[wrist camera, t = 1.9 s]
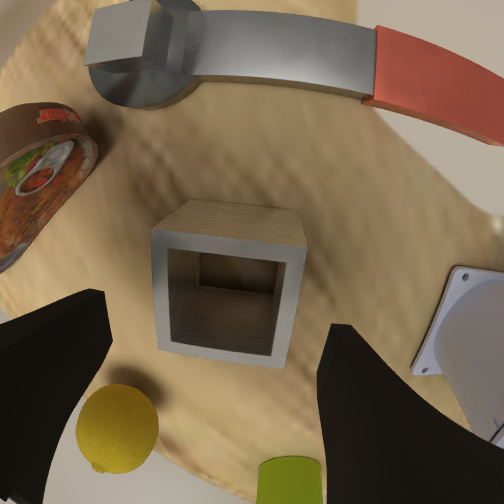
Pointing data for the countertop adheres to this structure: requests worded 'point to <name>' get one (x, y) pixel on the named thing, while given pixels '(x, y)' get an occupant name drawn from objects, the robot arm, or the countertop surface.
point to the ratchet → (286, 62)
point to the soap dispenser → (290, 481)
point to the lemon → (117, 429)
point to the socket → (220, 299)
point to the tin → (38, 170)
